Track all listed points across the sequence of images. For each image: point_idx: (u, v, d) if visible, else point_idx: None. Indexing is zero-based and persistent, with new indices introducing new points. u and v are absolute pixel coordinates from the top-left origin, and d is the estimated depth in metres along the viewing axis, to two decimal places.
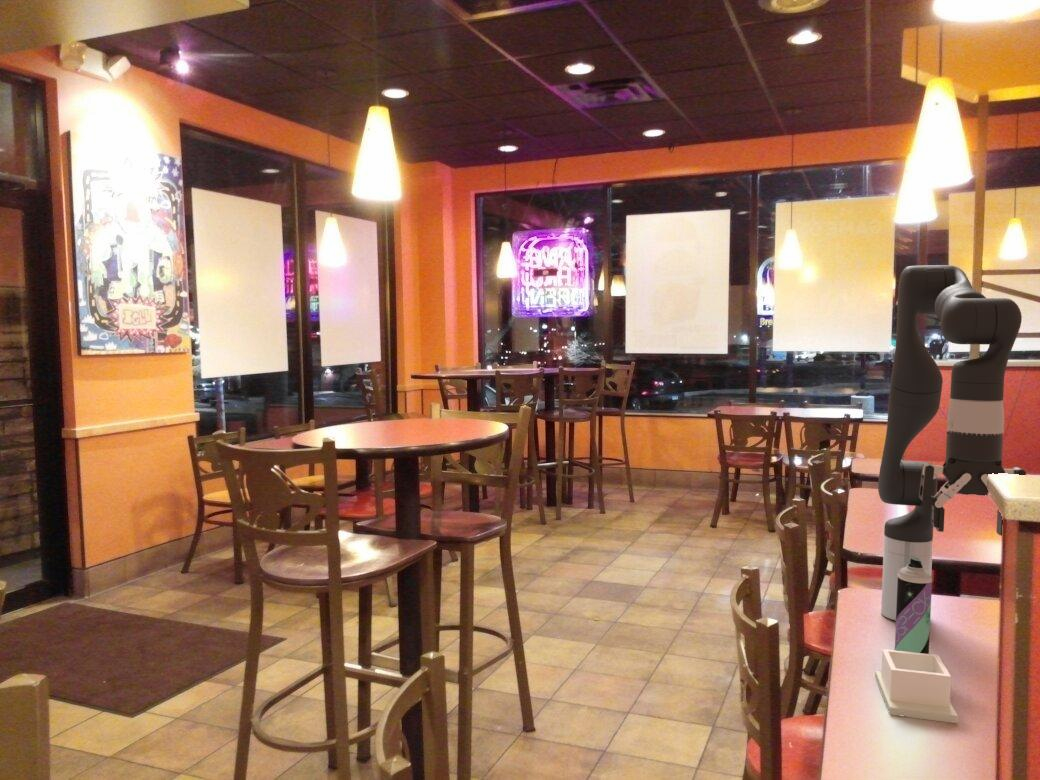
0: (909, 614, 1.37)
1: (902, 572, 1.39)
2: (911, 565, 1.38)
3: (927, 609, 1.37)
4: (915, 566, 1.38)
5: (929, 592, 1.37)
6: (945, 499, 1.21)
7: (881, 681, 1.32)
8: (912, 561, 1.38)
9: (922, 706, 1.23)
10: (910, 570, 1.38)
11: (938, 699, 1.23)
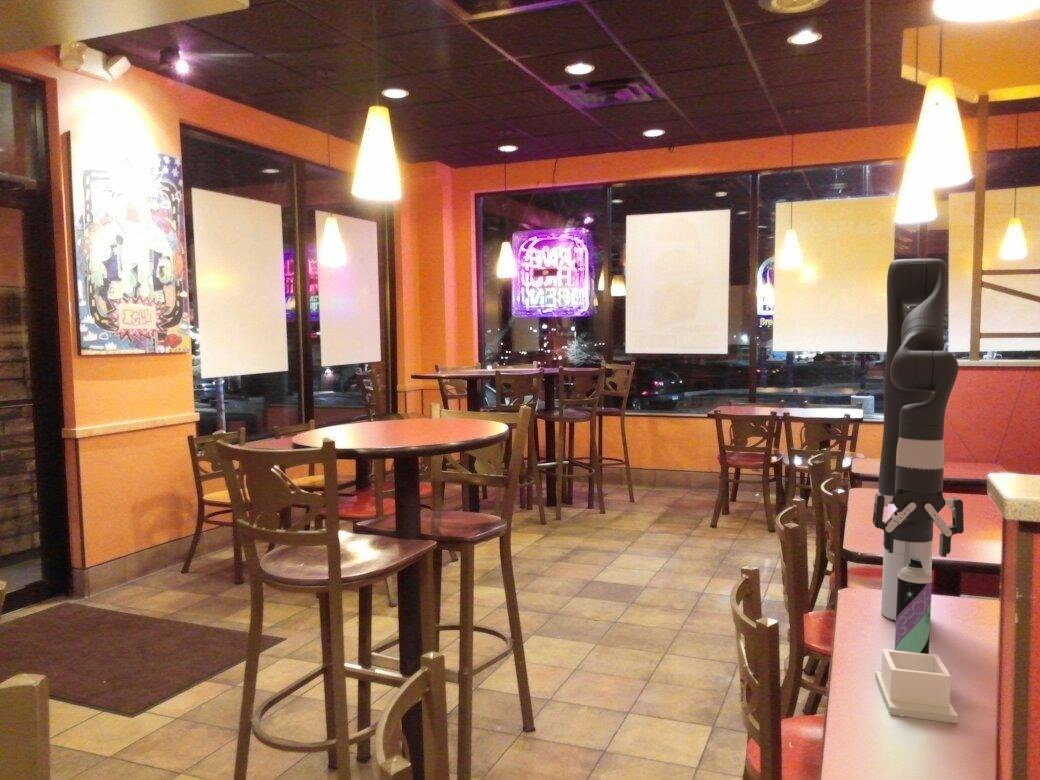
0: (909, 614, 1.37)
1: (902, 572, 1.39)
2: (911, 565, 1.38)
3: (927, 609, 1.37)
4: (915, 566, 1.38)
5: (929, 592, 1.37)
6: (894, 524, 1.38)
7: (881, 681, 1.32)
8: (912, 561, 1.38)
9: (922, 706, 1.23)
10: (910, 570, 1.38)
11: (938, 699, 1.23)
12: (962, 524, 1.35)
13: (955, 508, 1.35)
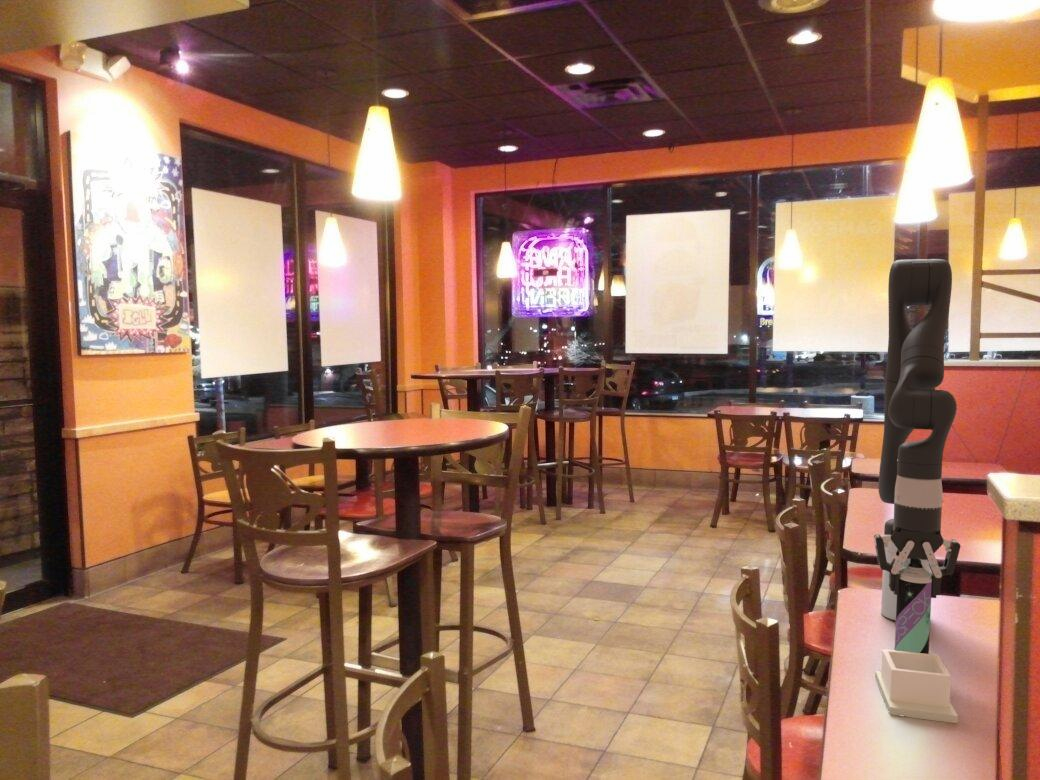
0: (909, 614, 1.37)
1: (902, 572, 1.39)
2: (911, 565, 1.38)
3: (927, 609, 1.37)
4: (915, 566, 1.38)
5: (929, 592, 1.37)
6: (898, 565, 1.39)
7: (881, 681, 1.32)
8: (912, 561, 1.38)
9: (922, 706, 1.23)
10: (910, 570, 1.38)
11: (938, 699, 1.23)
12: (953, 567, 1.36)
13: (951, 550, 1.36)
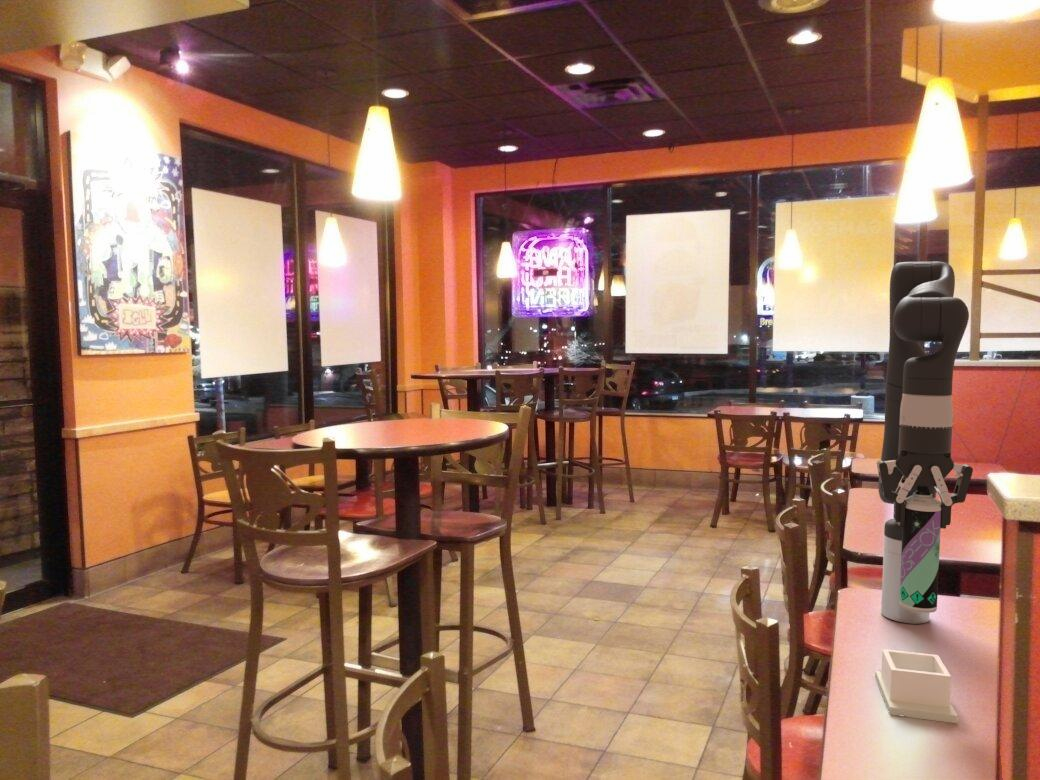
0: (916, 546, 1.24)
1: (908, 500, 1.26)
2: (918, 493, 1.25)
3: (936, 540, 1.24)
4: (923, 493, 1.25)
5: (938, 521, 1.24)
6: (904, 493, 1.26)
7: (881, 681, 1.32)
8: (919, 488, 1.25)
9: (922, 706, 1.23)
10: (917, 497, 1.25)
11: (938, 699, 1.23)
12: (965, 493, 1.23)
13: (963, 474, 1.23)
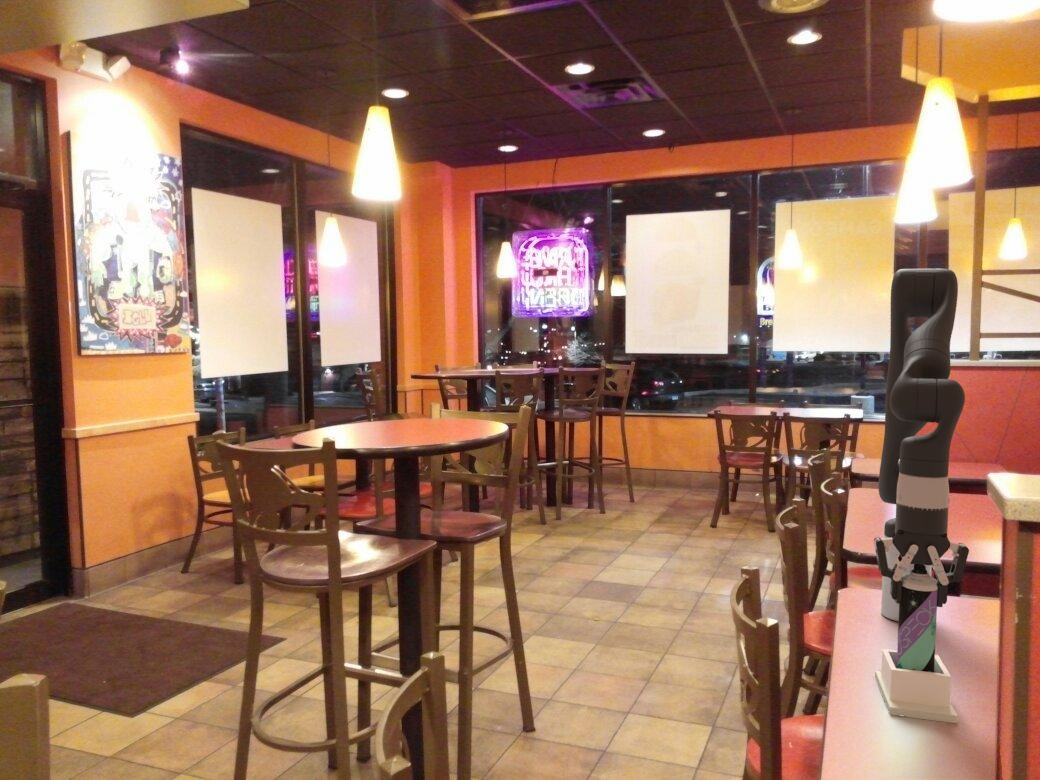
0: (913, 625, 1.25)
1: (905, 579, 1.27)
2: (915, 571, 1.26)
3: (933, 619, 1.25)
4: (919, 572, 1.26)
5: (935, 601, 1.25)
6: (901, 571, 1.27)
7: (881, 681, 1.32)
8: (916, 567, 1.26)
9: (922, 706, 1.23)
10: (913, 576, 1.26)
11: (938, 699, 1.23)
12: (961, 573, 1.24)
13: (959, 555, 1.24)
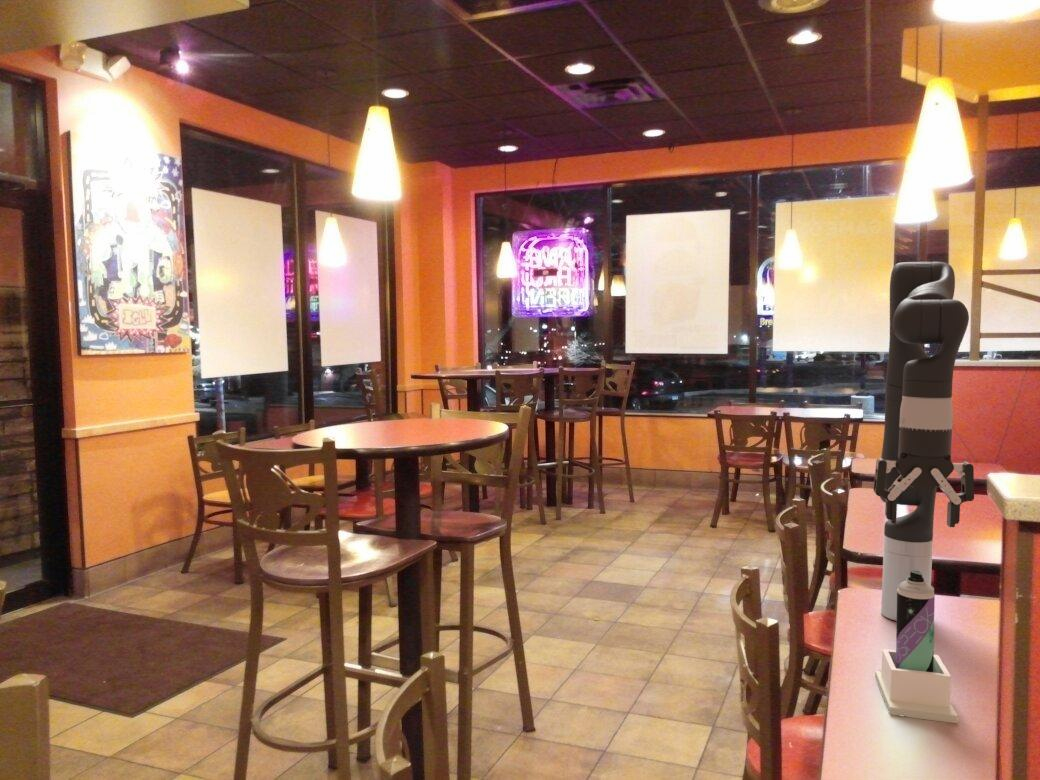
0: (911, 633, 1.25)
1: (902, 587, 1.27)
2: (911, 579, 1.26)
3: (930, 627, 1.25)
4: (916, 580, 1.26)
5: (932, 608, 1.25)
6: (897, 492, 1.26)
7: (881, 681, 1.32)
8: (912, 575, 1.26)
9: (922, 706, 1.23)
10: (910, 584, 1.26)
11: (938, 699, 1.23)
12: (972, 491, 1.23)
13: (965, 473, 1.23)
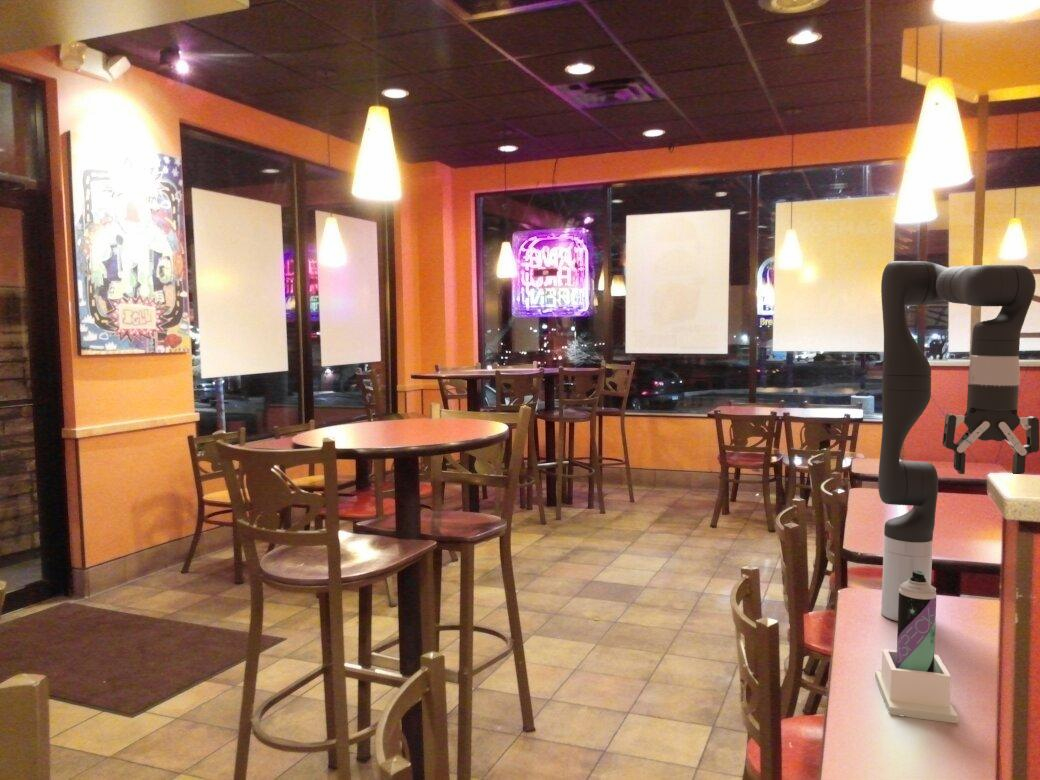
0: (912, 633, 1.25)
1: (904, 587, 1.27)
2: (913, 579, 1.27)
3: (932, 627, 1.25)
4: (918, 580, 1.26)
5: (933, 609, 1.25)
6: (966, 444, 1.35)
7: (881, 681, 1.32)
8: (914, 575, 1.27)
9: (922, 706, 1.23)
10: (912, 584, 1.26)
11: (938, 699, 1.23)
12: (1038, 442, 1.32)
13: (1030, 426, 1.32)
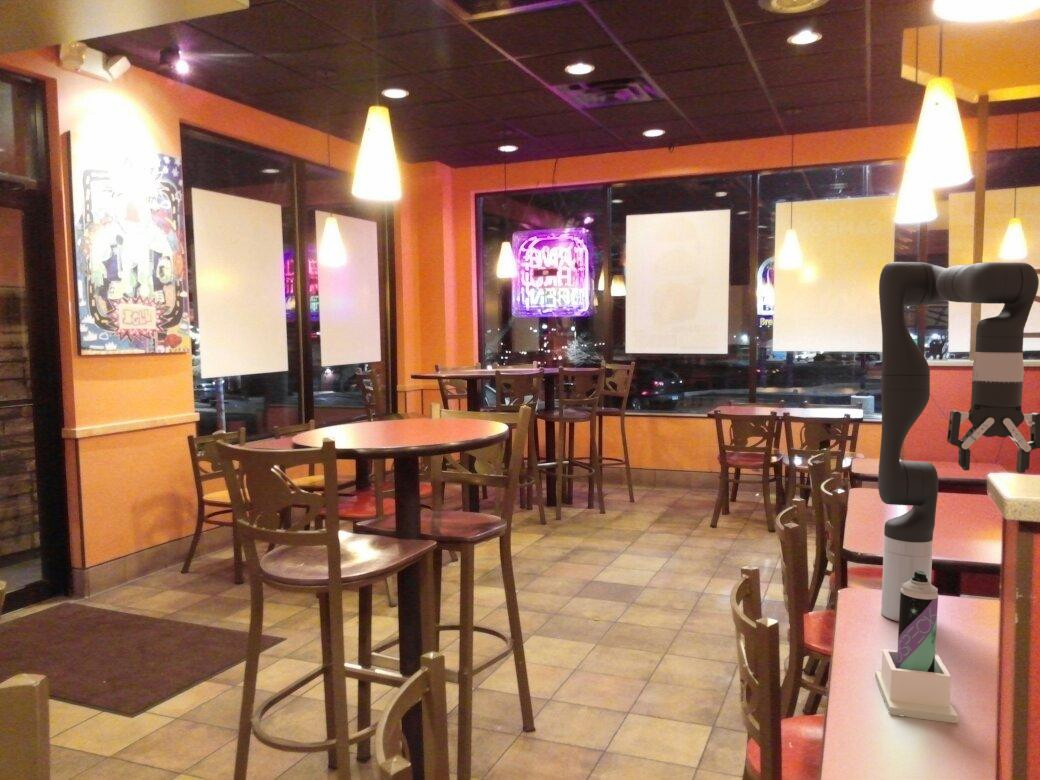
0: (913, 633, 1.25)
1: (905, 587, 1.27)
2: (915, 579, 1.27)
3: (933, 627, 1.25)
4: (920, 580, 1.26)
5: (935, 609, 1.25)
6: (971, 441, 1.36)
7: (881, 681, 1.32)
8: (916, 575, 1.27)
9: (922, 706, 1.23)
10: (914, 584, 1.26)
11: (938, 699, 1.23)
12: None
13: (1035, 422, 1.33)
